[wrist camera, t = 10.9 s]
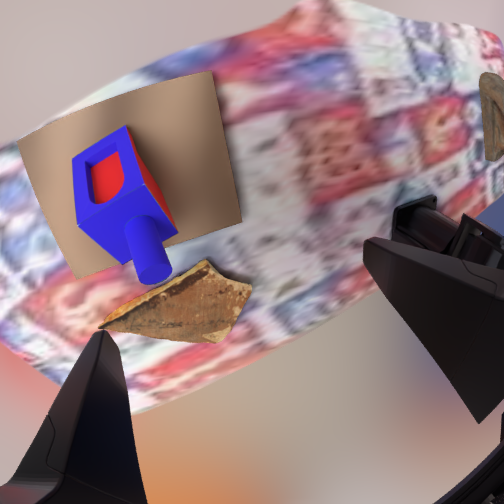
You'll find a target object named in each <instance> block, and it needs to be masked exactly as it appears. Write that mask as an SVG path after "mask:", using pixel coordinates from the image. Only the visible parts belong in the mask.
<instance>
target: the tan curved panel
mask: <svg viewBox="0 0 504 504" xmlns="http://www.w3.org/2000/svg"><path fill="white" fill-rule="evenodd" d="M124 125H126V127H127V129H128V130H129V132H130V134H131V135H132V138H133V141H134V144H135V147H136V150H137V153H138V154H139V156H140V158H141V159H142V161H143V162H144V164H145V166H146V167H147V169H148V170H149V172H150V174H151V175H152V177H153V178H154V180H155V182H156V183H157V185H158V186H159V188H160V190H161V192H162V194H163V197H164V199H165V201H166V204H167V206H168V209H169V211H170V213H171V216H172V218H173V220H174V223H175V225H176V227H177V230H178V232H179V233H178V234H176V235H174V236H172V237H171V238H169V239H167V240H165V241H163V242H162V244H163V247H164V248H166V247H169V246H172V245H175V244H178V243H181V242H184V241H187V240H190V239H193V238H196V237H199V236H202V235H205V234H208V233H211V232H214V231H217V230H220V229H223V228H226V227H229V226H232V225H236V224H239V223H242V217H241V213H240V208H239V203H238V198H237V193H236V188H235V184H234V179H233V174H232V169H231V164H230V159H229V154H228V149H227V145H226V140H225V135H224V130H223V125H222V120H221V115H220V110H219V105H218V100H217V96H216V91H215V86H214V81H213V76H212V71H211V70H210V71H205V72H200V73H196V74H191V75H187V76H183V77H179V78H175V79H171V80H167V81H163V82H160V83H156V84H153V85H149V86H146V87H143V88H139V89H136V90H133V91H130V92H127V93H124V94H121V95H118V96H115V97H113V98H110V99H107V100H104V101H102V102H99V103H97V104H94V105H92V106H89V107H87V108H84V109H82V110H79V111H77V112H75V113H72V114H70V115H68V116H66V117H63V118H61V119H59V120H57V121H55V122H53V123H51V124H49V125H47V126H45V127H43V128H41V129H39V130H37V131H35V132H33V133H31V134H29V135H27V136H25V137H23V138H22V139H20V140H18V141H17V144H18V147H19V150H20V153H21V156H22V159H23V162H24V165H25V168H26V171H27V174H28V176H29V179H30V182H31V184H32V187H33V190H34V192H35V195H36V197H37V199H38V202H39V204H40V207H41V209H42V211H43V214H44V216H45V218H46V220H47V222H48V225H49V227H50V229H51V231H52V233H53V235H54V237H55V239H56V242H57V244H58V246H59V248H60V250H61V252H62V253H63V255H64V257H65V259H66V261H67V263H68V265H69V267H70V269H71V270H72V272H73V274H74V276H75V278H76V279H80V278H83V277H85V276H88V275H91V274H93V273H96V272H99V271H102V270H104V269H107V268H110V267H113V266H115V265H118V264H121V263H120V262H118V261H117V260H116V259H115V258H114V257H112V256H111V255H110V254H109V253H108V252H106V251H105V250H104V249H103V248H102V247H101V246H99V245H98V244H97V243H96V242H95V241H94V240H93V239H91V238H90V237H89V236H88V235H87V234H86V233H85V232H83V231H82V230H81V229H80V228H79V227H78V226H77V220H76V212H75V202H74V190H73V175H72V158H74V157H75V156H76V155H78V154H79V153H81V152H82V151H84V150H85V149H87V148H88V147H90V146H92V145H93V144H95V143H96V142H98V141H99V140H101V139H103V138H104V137H106V136H108V135H109V134H111V133H112V132H114V131H116V130H118V129H119V128H121V127H123V126H124Z"/></svg>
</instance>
